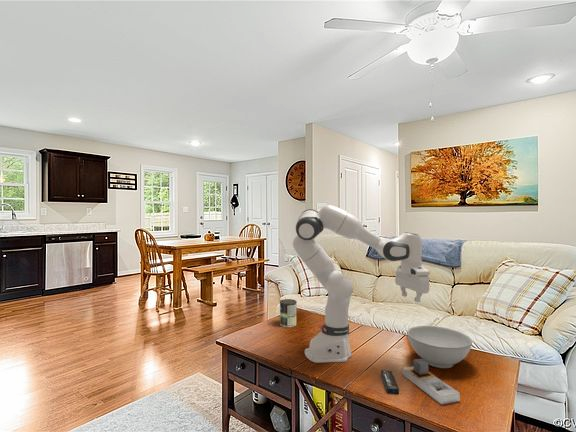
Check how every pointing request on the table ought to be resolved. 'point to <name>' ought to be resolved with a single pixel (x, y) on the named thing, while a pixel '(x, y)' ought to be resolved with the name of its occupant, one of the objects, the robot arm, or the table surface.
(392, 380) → the multiport hub
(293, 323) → the coffee can
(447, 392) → the rail
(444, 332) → the decorative bowl
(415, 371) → the square peg
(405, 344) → the table surface
